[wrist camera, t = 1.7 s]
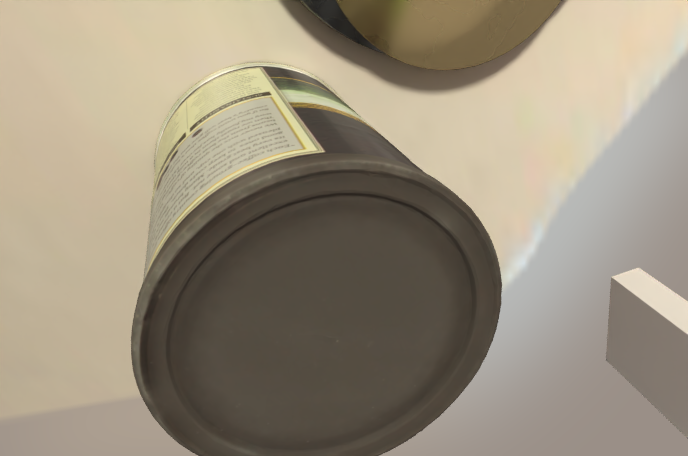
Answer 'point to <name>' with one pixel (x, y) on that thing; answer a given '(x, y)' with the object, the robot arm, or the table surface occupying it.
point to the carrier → (435, 27)
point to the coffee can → (302, 277)
